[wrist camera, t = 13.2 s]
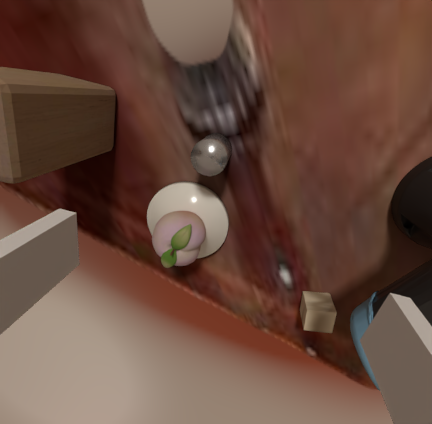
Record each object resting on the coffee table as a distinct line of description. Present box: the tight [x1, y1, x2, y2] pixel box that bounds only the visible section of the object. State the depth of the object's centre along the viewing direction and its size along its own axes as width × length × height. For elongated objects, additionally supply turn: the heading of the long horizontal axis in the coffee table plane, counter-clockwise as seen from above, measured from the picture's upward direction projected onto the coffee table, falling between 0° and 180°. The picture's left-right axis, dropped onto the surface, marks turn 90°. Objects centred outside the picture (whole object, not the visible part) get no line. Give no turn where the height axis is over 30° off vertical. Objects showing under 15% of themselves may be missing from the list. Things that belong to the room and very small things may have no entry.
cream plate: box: [147, 181, 229, 258], centre depth 46 cm, size 15×15×2 cm
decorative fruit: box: [152, 211, 206, 268], centre depth 41 cm, size 9×8×10 cm
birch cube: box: [300, 291, 337, 333], centre depth 48 cm, size 5×5×5 cm
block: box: [0, 67, 116, 183], centre depth 32 cm, size 10×10×20 cm
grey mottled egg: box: [191, 133, 232, 176], centre depth 37 cm, size 5×5×7 cm
